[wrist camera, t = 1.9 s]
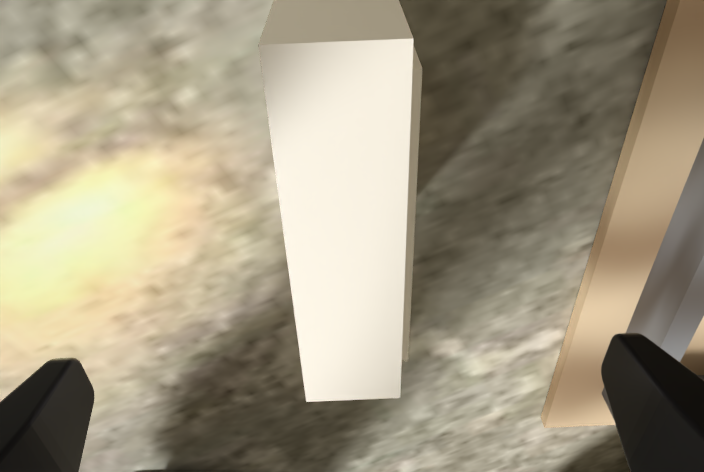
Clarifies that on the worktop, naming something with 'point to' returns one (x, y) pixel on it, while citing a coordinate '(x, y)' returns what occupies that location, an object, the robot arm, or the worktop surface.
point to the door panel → (346, 185)
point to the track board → (645, 231)
